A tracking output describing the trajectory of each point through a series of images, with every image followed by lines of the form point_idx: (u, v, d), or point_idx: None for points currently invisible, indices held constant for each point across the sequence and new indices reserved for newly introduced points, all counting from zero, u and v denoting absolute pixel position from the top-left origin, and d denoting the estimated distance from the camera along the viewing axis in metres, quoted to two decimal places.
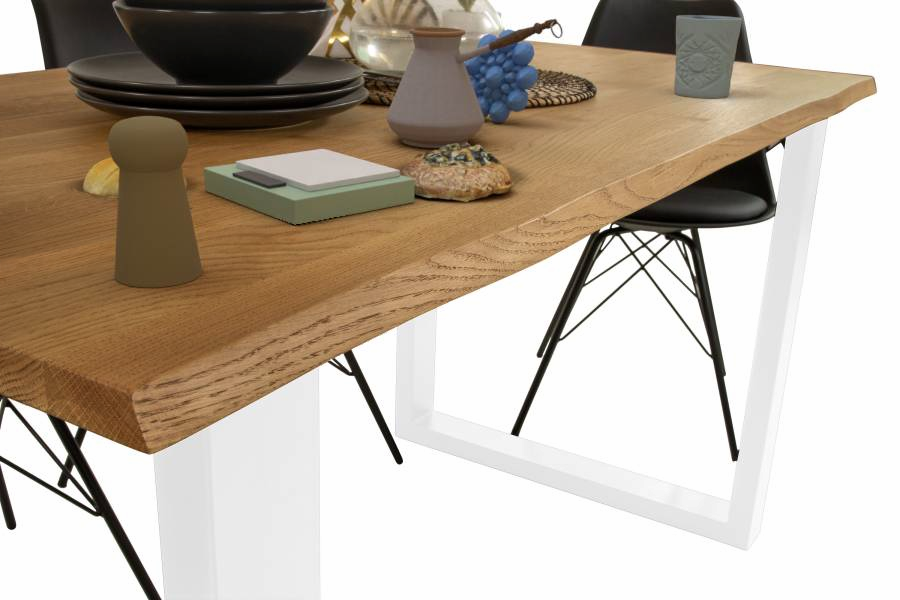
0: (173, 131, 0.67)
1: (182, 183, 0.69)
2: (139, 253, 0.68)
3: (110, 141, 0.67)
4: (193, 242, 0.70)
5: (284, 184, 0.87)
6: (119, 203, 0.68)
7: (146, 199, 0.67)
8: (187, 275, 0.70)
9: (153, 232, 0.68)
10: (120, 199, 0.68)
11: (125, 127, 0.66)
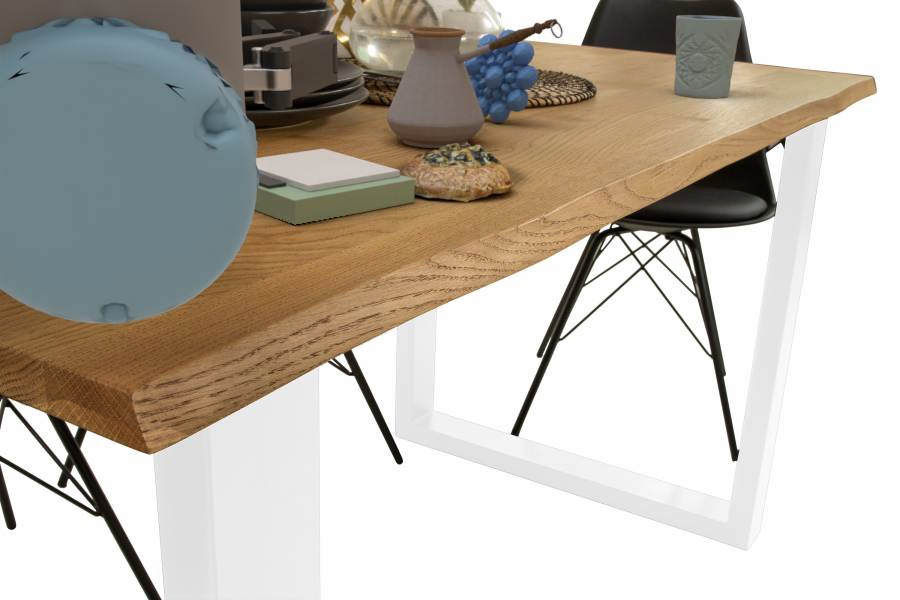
0: None
1: None
2: None
3: None
4: None
5: (284, 184, 0.87)
6: None
7: None
8: None
9: None
10: None
11: None
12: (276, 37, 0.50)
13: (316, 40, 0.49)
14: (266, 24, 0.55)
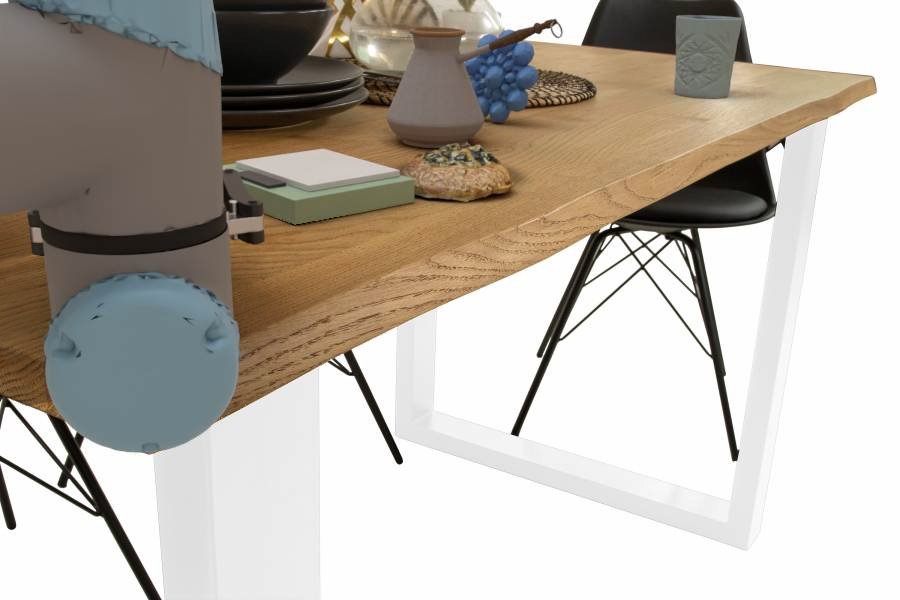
0: None
1: None
2: None
3: None
4: None
5: (284, 184, 0.87)
6: None
7: None
8: None
9: None
10: None
11: None
12: None
13: None
14: None
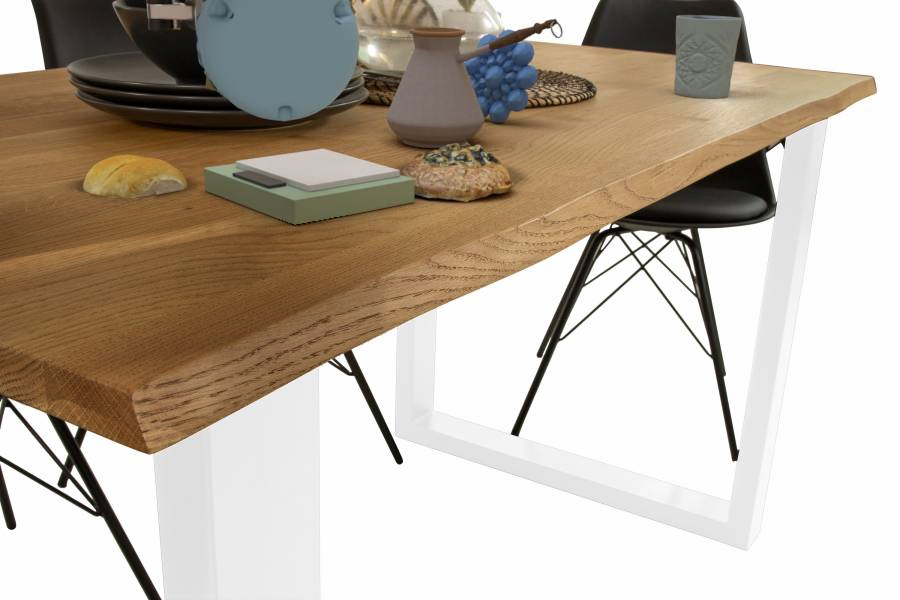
0: None
1: None
2: None
3: None
4: None
5: (284, 184, 0.87)
6: None
7: None
8: None
9: None
10: None
11: None
12: None
13: None
14: None
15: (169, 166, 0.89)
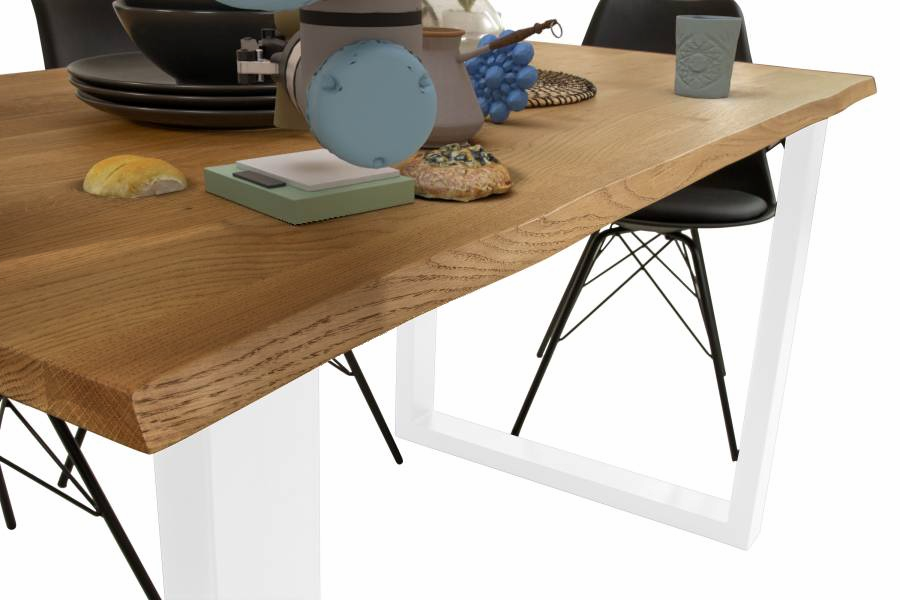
0: None
1: None
2: None
3: (277, 13, 0.86)
4: None
5: (284, 184, 0.87)
6: None
7: None
8: None
9: None
10: None
11: None
12: None
13: None
14: None
15: (169, 166, 0.89)
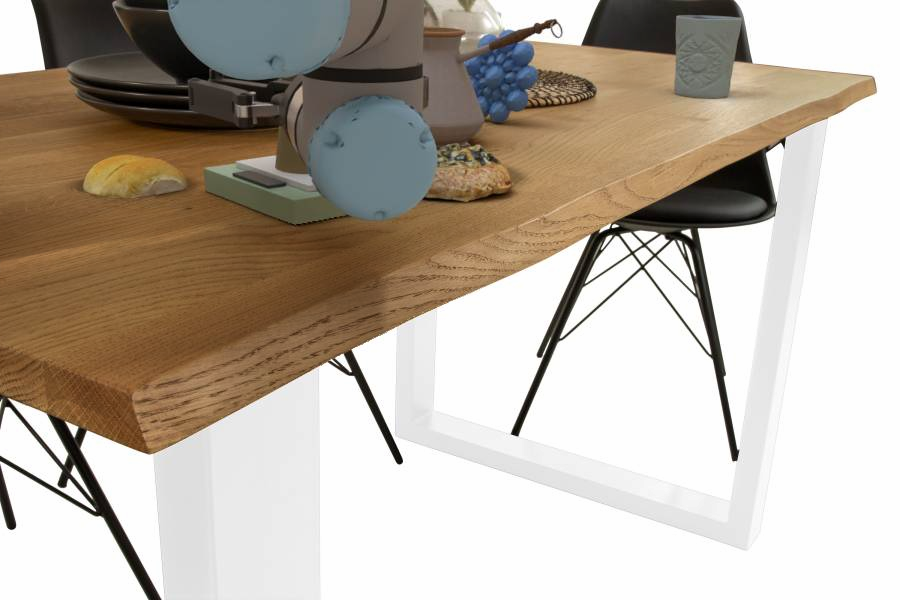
0: None
1: None
2: None
3: None
4: None
5: (284, 184, 0.87)
6: None
7: None
8: None
9: None
10: None
11: None
12: None
13: None
14: None
15: (169, 166, 0.89)
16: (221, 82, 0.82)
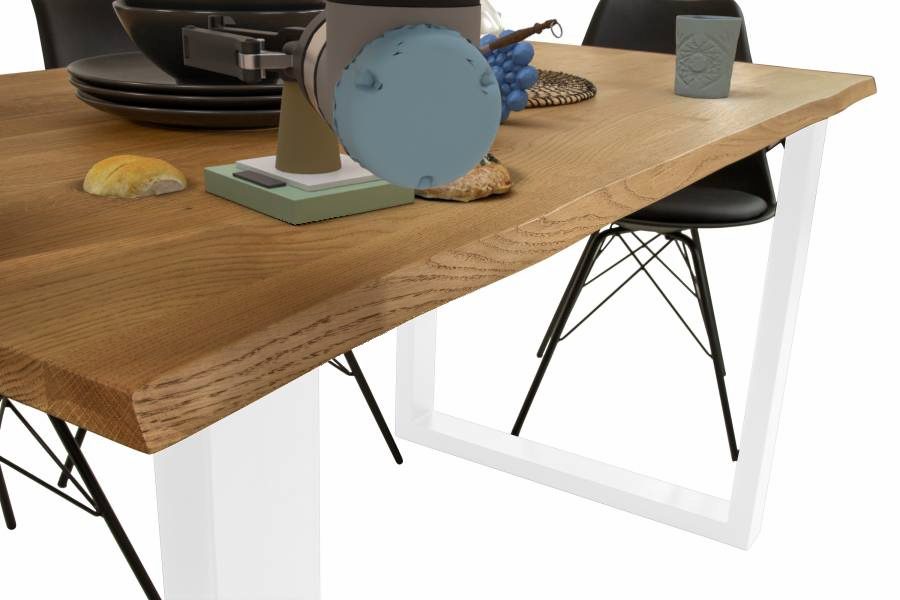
0: None
1: None
2: (298, 147, 0.89)
3: None
4: (337, 141, 0.91)
5: (284, 184, 0.87)
6: (283, 109, 0.89)
7: (305, 105, 0.88)
8: (333, 166, 0.90)
9: (310, 131, 0.88)
10: (284, 106, 0.89)
11: None
12: None
13: None
14: None
15: (169, 166, 0.89)
16: (222, 31, 0.68)
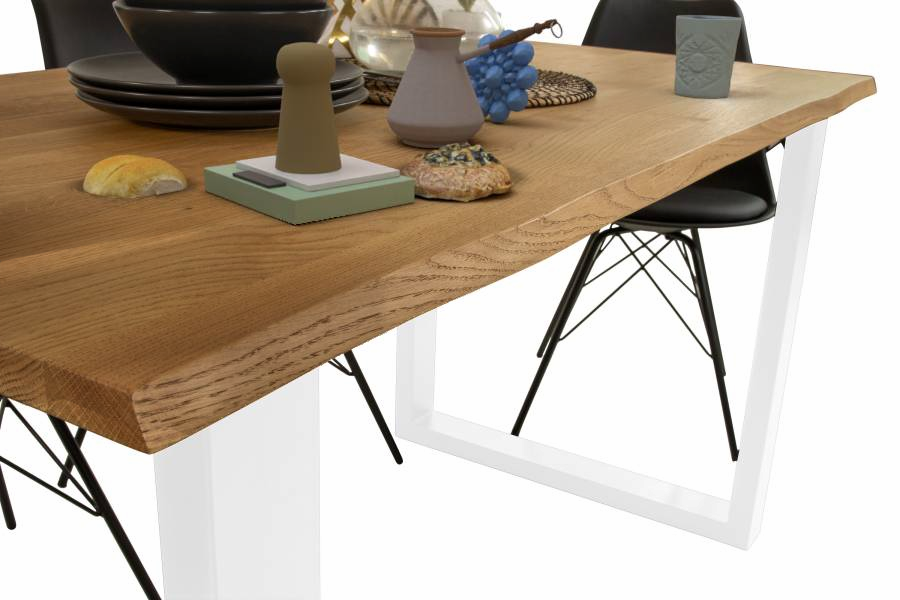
0: (327, 52, 0.87)
1: (330, 94, 0.90)
2: (298, 147, 0.89)
3: (279, 60, 0.87)
4: (337, 141, 0.91)
5: (284, 184, 0.87)
6: (283, 109, 0.89)
7: (305, 105, 0.88)
8: (333, 166, 0.90)
9: (310, 131, 0.88)
10: (284, 106, 0.89)
11: (292, 49, 0.87)
12: None
13: None
14: None
15: (169, 166, 0.89)
16: None
